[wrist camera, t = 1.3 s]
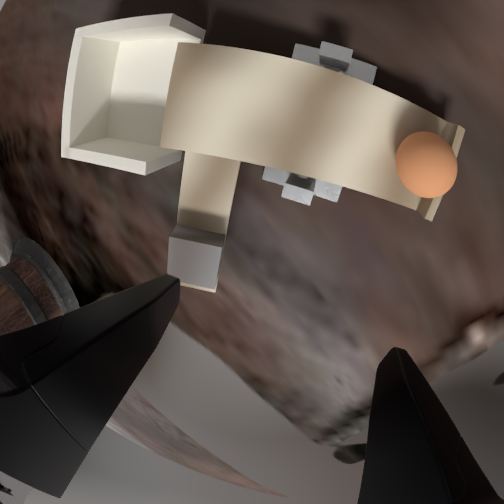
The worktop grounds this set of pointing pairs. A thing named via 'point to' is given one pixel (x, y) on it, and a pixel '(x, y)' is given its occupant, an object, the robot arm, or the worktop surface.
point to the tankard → (32, 288)
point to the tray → (122, 91)
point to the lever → (277, 139)
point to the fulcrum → (341, 60)
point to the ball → (426, 164)
